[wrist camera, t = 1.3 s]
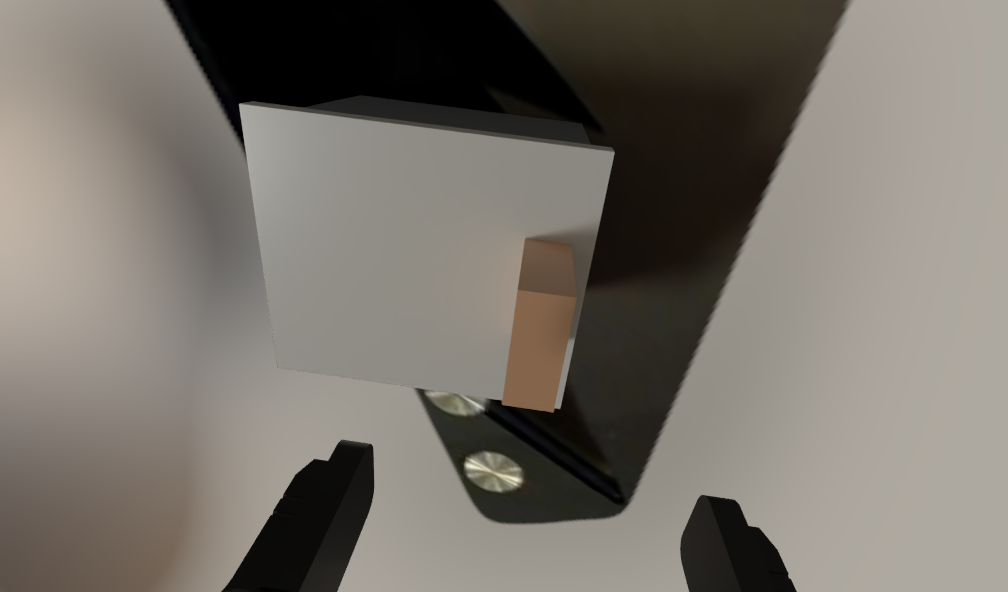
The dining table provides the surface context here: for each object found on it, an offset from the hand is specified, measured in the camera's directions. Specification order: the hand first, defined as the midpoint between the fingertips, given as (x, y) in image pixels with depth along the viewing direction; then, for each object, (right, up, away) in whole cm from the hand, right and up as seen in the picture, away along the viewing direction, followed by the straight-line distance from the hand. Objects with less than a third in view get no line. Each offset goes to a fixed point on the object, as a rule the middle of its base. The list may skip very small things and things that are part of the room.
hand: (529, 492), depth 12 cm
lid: (-4, +7, +12) cm, 14 cm away
